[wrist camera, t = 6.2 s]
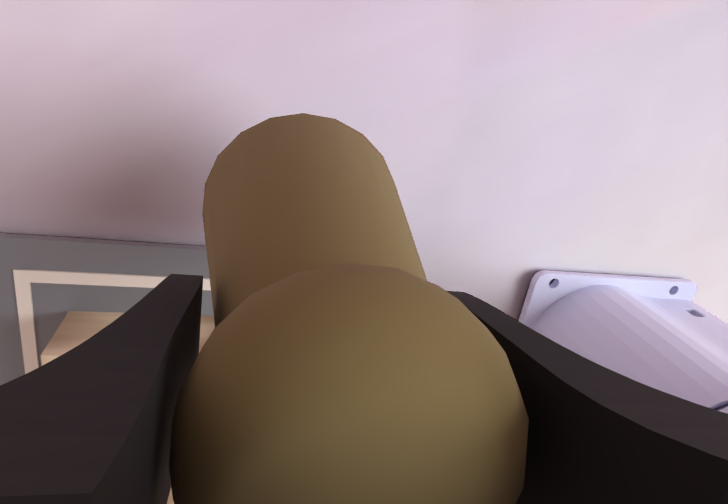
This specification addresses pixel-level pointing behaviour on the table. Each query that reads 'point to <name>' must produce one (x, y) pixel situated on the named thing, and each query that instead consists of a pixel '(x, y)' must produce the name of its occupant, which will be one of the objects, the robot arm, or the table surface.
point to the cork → (335, 343)
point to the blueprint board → (77, 286)
